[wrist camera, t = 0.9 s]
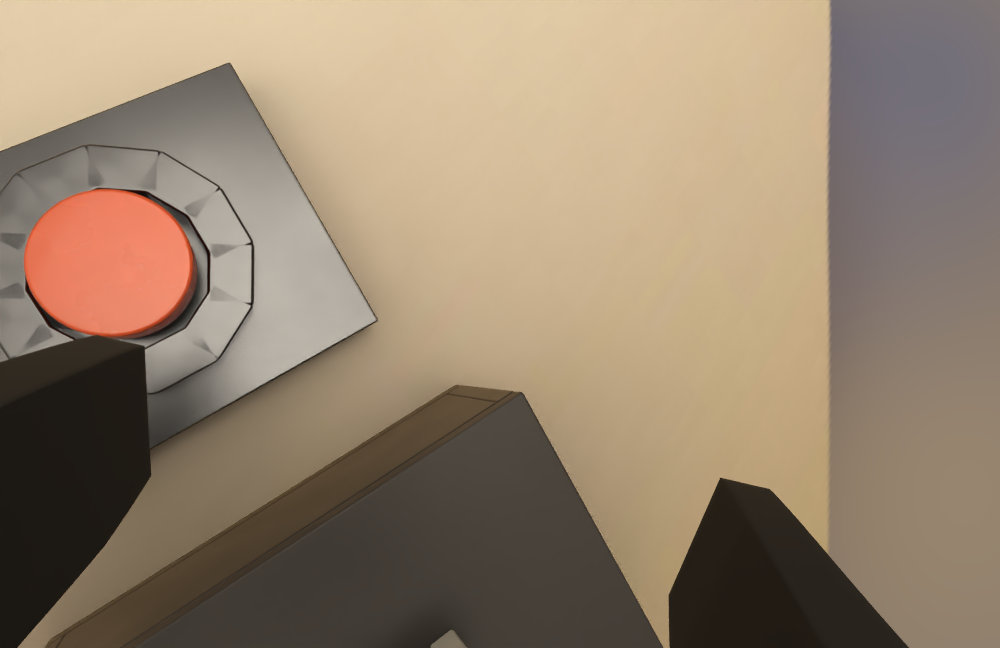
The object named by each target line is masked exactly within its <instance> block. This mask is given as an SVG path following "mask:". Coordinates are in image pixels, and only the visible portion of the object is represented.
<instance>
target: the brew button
mask: <svg viewBox="0 0 1000 648" xmlns="http://www.w3.org/2000/svg"><path fill="white" fill-rule="evenodd" d="M24 271H25V275H26V280H27V283H28V285H29V288H30V290H31V292H32V294H33V296H34V298H35V299H36V300H37V302H38V303H39V304H40V306H41V307H42V308H43V309H44V310H45V311H46V312H47V313H48V314H49V315H50V316H51V317H53V318H54V319H55V320H57V321H58V322H60V323H61V324H63V325H65V326H66V327H69V328H71V329H73V330H75V331H78V332H81V333H85V334H88V335H93V336H94V335H99V336H104V337H108V338H112V339H132V338H138V337H143V336H146V335H150V334H152V333H155V332H157V331H159V330H161V329H163V328H165V327H166V326H168V325H169V324H171V323H172V322H173V321H174V320H176V319H177V318H178V317H179V316H180V315H181V314H182V312H183V311H184V310H185V309H186V307H187V306H188V304H189V302H190V301H191V299H192V296H193V294H194V291H195V288H196V283H197V275H198V271H197V262H196V257H195V254H194V251H193V248H192V246H191V244H190V242H189V240H188V238H187V236H186V234H185V232H184V230H183V228H182V227H181V226H180V224H179V223H178V221H177V220H176V219H175V218H174V217H173V216H172V215H171V214H170V213H169V212H168V211H167V210H166V209H164V208H163V207H162V206H160V205H159V204H157V203H156V202H154V201H152V200H150V199H148V198H146V197H144V196H141V195H139V194H136V193H132V192H128V191H124V190H116V189H97V190H90V191H85V192H81V193H78V194H75V195H72V196H70V197H68V198H66V199H64V200H62V201H60V202H58V203H57V204H55V205H54V206H52V207H51V208H50V209H49V210H48V211H47V212H45V213H44V214H43V215H42V217H41V218H40V219H39V220H38V221H37V223H36V224H35V226H34V227H33V229H32V231H31V233H30V235H29V237H28V240H27V243H26V247H25V253H24Z"/></svg>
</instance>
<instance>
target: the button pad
mask: <svg viewBox="0 0 1000 648" xmlns="http://www.w3.org/2000/svg"><path fill="white" fill-rule="evenodd" d="M97 189H116V190H124V191H128V192H132V193H136V194H139V195H141V196H144V197H146V198H148V199H150V200H152V201H154V202H156V203H157V204H159V205H160V206H162V207H163V208H164V209H166V210H167V211H168V212H169V213H170V214H171V215H172V216H173V217H174V218H175V219H176V220H177V221H178V223H179V224H180V226H181V227H182V228H183V230H184V232H185V234H186V236H187V238H188V240H189V242H190V244H191V246H192V248H193V251H194V254H195V257H196V262H197V271H198V275H197V283H196V288H195V291H194V294H193V296H192V299H191V301H190V302H189V304H188V306H187V307H186V309H185V310H184V311H183V312H182V314H181V315H180V316H179V317H178V318H177V319H176V320H174V321H173V322H172V323H171V324H169V325H168V326H166V327H165V328H163V329H161V330H159V331H157V332H155V333H152V334H150V335H146V336H143V337H138V338H132V339H117V340H121V341H126V342H130V343H134V344H139V345H143V346H145V363H146V383H147V403H148V423H149V442H150V449H152V448H154V447H156V446H158V445H159V444H161V443H163V442H165V441H166V440H168V439H170V438H172V437H173V436H175V435H177V434H179V433H181V432H182V431H184V430H186V429H188V428H189V427H191V426H193V425H195V424H196V423H198V422H200V421H202V420H204V419H205V418H207V417H209V416H211V415H212V414H214V413H216V412H218V411H219V410H221V409H223V408H225V407H227V406H228V405H230V404H232V403H234V402H235V401H237V400H239V399H241V398H242V397H244V396H246V395H248V394H250V393H251V392H253V391H255V390H257V389H258V388H260V387H262V386H264V385H265V384H267V383H269V382H271V381H273V380H274V379H276V378H278V377H280V376H281V375H283V374H285V373H287V372H288V371H290V370H292V369H294V368H296V367H297V366H299V365H301V364H303V363H304V362H306V361H308V360H310V359H311V358H313V357H315V356H317V355H319V354H320V353H322V352H324V351H326V350H327V349H329V348H331V347H333V346H334V345H336V344H338V343H340V342H342V341H343V340H345V339H347V338H349V337H350V336H352V335H354V334H356V333H357V332H359V331H361V330H363V329H365V328H366V327H368V326H370V325H372V324H373V323H375V322H377V321H378V319H377V317H376V316H375V314H374V312H373V310H372V309H371V307H370V305H369V303H368V302H367V300H366V298H365V297H364V295H363V293H362V291H361V290H360V288H359V286H358V284H357V283H356V281H355V279H354V277H353V276H352V274H351V272H350V270H349V269H348V267H347V265H346V263H345V262H344V260H343V258H342V256H341V255H340V253H339V251H338V249H337V248H336V246H335V244H334V243H333V241H332V239H331V237H330V236H329V234H328V232H327V230H326V229H325V227H324V225H323V223H322V222H321V220H320V218H319V216H318V215H317V213H316V211H315V209H314V208H313V206H312V204H311V202H310V201H309V199H308V197H307V195H306V194H305V192H304V190H303V189H302V187H301V185H300V183H299V182H298V180H297V178H296V176H295V175H294V173H293V171H292V169H291V168H290V166H289V164H288V162H287V161H286V159H285V157H284V155H283V154H282V152H281V150H280V148H279V147H278V145H277V143H276V141H275V140H274V138H273V136H272V135H271V133H270V131H269V129H268V128H267V126H266V124H265V122H264V121H263V119H262V117H261V115H260V114H259V112H258V110H257V108H256V107H255V105H254V103H253V101H252V100H251V98H250V96H249V94H248V93H247V91H246V89H245V87H244V86H243V84H242V82H241V80H240V79H239V77H238V75H237V74H236V72H235V70H234V68H233V67H232V65H231V63H227V64H224V65H221V66H219V67H216V68H214V69H211V70H208V71H206V72H203V73H201V74H198V75H196V76H193V77H190V78H188V79H185V80H183V81H180V82H178V83H175V84H172V85H170V86H167V87H165V88H162V89H160V90H157V91H154V92H152V93H149V94H147V95H144V96H142V97H139V98H136V99H134V100H131V101H129V102H126V103H124V104H121V105H118V106H116V107H113V108H111V109H108V110H106V111H103V112H100V113H98V114H95V115H93V116H90V117H87V118H85V119H82V120H80V121H77V122H75V123H72V124H69V125H67V126H64V127H62V128H59V129H57V130H54V131H51V132H49V133H46V134H44V135H41V136H39V137H36V138H33V139H31V140H28V141H26V142H23V143H21V144H18V145H15V146H13V147H10V148H8V149H5V150H3V151H0V362H2V361H6V360H9V359H12V358H15V357H18V356H22V355H25V354H28V353H31V352H35V351H38V350H41V349H45V348H48V347H51V346H55V345H58V344H62V343H66V342H69V341H73V340H77V339H81V338H86V337H90V336H93V335H88V334H85V333H81V332H78V331H75V330H73V329H71V328H69V327H66V326H65V325H63V324H61V323H60V322H58V321H57V320H55V319H54V318H53V317H51V316H50V315H49V314H48V313H47V312H46V311H45V310H44V309H43V308H42V307H41V306H40V304H39V303H38V302H37V300H36V299H35V298H34V296H33V294H32V292H31V290H30V288H29V285H28V283H27V280H26V275H25V271H24V253H25V247H26V243H27V240H28V237H29V235H30V233H31V231H32V229H33V227H34V226H35V224H36V223H37V221H38V220H39V219H40V218H41V217H42V215H43V214H44V213H45V212H47V211H48V210H49V209H50V208H51V207H52V206H54V205H55V204H57V203H58V202H60V201H62V200H64V199H66V198H68V197H70V196H72V195H75V194H78V193H81V192H85V191H90V190H97Z"/></svg>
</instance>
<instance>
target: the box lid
mask: <svg viewBox="0 0 1000 648" xmlns="http://www.w3.org/2000/svg"><path fill="white" fill-rule="evenodd" d="M123 648H663V646H662V644H661V643H660V641H659V639H658V637H657V635H656V634H655V632H654V630H653V628H652V626H651V624H650V623H649V621H648V619H647V617H646V615H645V614H644V612H643V610H642V608H641V606H640V604H639V603H638V601H637V599H636V597H635V595H634V594H633V592H632V590H631V588H630V586H629V585H628V583H627V581H626V579H625V577H624V575H623V574H622V572H621V570H620V568H619V566H618V565H617V563H616V561H615V559H614V557H613V555H612V554H611V552H610V550H609V548H608V546H607V545H606V543H605V541H604V539H603V537H602V536H601V534H600V532H599V530H598V528H597V526H596V525H595V523H594V521H593V519H592V517H591V516H590V514H589V512H588V510H587V508H586V506H585V505H584V503H583V501H582V499H581V497H580V496H579V494H578V492H577V490H576V488H575V487H574V485H573V483H572V481H571V479H570V477H569V476H568V474H567V472H566V470H565V468H564V467H563V465H562V463H561V461H560V459H559V457H558V456H557V454H556V452H555V450H554V448H553V447H552V445H551V443H550V441H549V439H548V438H547V436H546V434H545V432H544V430H543V428H542V427H541V425H540V423H539V421H538V419H537V418H536V416H535V414H534V412H533V410H532V408H531V407H530V405H529V403H528V401H527V399H526V398H525V396H524V394H523V393H522V392H513V393H511V394H510V395H508V396H507V397H505V398H504V399H502V400H501V401H499V402H498V403H496V404H495V405H493V406H492V407H490V408H488V409H487V410H485V411H484V412H482V413H481V414H479V415H478V416H476V417H475V418H473V419H472V420H470V421H469V422H467V423H466V424H464V425H463V426H461V427H459V428H458V429H456V430H455V431H453V432H452V433H450V434H449V435H447V436H446V437H444V438H443V439H441V440H440V441H438V442H437V443H435V444H433V445H432V446H430V447H429V448H427V449H426V450H424V451H423V452H421V453H420V454H418V455H417V456H415V457H414V458H412V459H411V460H409V461H408V462H406V463H404V464H403V465H401V466H400V467H398V468H397V469H395V470H394V471H392V472H391V473H389V474H388V475H386V476H385V477H383V478H382V479H380V480H378V481H377V482H375V483H374V484H372V485H371V486H369V487H368V488H366V489H365V490H363V491H362V492H360V493H359V494H357V495H356V496H354V497H353V498H351V499H349V500H348V501H346V502H345V503H343V504H342V505H340V506H339V507H337V508H336V509H334V510H333V511H331V512H330V513H328V514H327V515H325V516H323V517H322V518H320V519H319V520H317V521H316V522H314V523H313V524H311V525H310V526H308V527H307V528H305V529H304V530H302V531H301V532H299V533H297V534H296V535H294V536H293V537H291V538H290V539H288V540H287V541H285V542H284V543H282V544H281V545H279V546H278V547H276V548H275V549H273V550H272V551H270V552H268V553H267V554H265V555H264V556H262V557H261V558H259V559H258V560H256V561H255V562H253V563H252V564H250V565H249V566H247V567H246V568H244V569H242V570H241V571H239V572H238V573H236V574H235V575H233V576H232V577H230V578H229V579H227V580H226V581H224V582H223V583H221V584H220V585H218V586H217V587H215V588H213V589H212V590H210V591H209V592H207V593H206V594H204V595H203V596H201V597H200V598H198V599H197V600H195V601H194V602H192V603H191V604H189V605H187V606H186V607H184V608H183V609H181V610H180V611H178V612H177V613H175V614H174V615H172V616H171V617H169V618H168V619H166V620H165V621H163V622H162V623H160V624H158V625H157V626H155V627H154V628H152V629H151V630H149V631H148V632H146V633H145V634H143V635H142V636H140V637H139V638H137V639H136V640H134V641H132V642H131V643H129V644H128V645H126V646H125V647H123Z"/></svg>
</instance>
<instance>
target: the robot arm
mask: <svg viewBox="0 0 1000 648" xmlns="http://www.w3.org/2000/svg"><path fill="white" fill-rule="evenodd" d="M150 477H151V462H150V442H149V423H148V403H147V383H146V363H145V346H143V345H139V344H134V343H130V342H126V341H121V340H117V339H112V338H108V337H104V336H99V335H94V336H90V337H86V338H81V339H77V340H73V341H69V342H66V343H62V344H58V345H55V346H51V347H48V348H45V349H41V350H38V351H35V352H31V353H28V354H25V355H22V356H18V357H15V358H12V359H9V360H6V361H2V362H0V648H17V647H18V646H19V645H20V644H21V643H22V641H23V640H24V639H25V638H26V637H27V636H28V635H29V633H30V632H31V631H32V630H33V629H34V628H35V627H36V625H37V624H38V623H39V622H40V621H41V620H42V618H43V617H44V616H45V615H46V614H47V613H48V612H49V610H50V609H51V608H52V607H53V606H54V605H55V604H56V602H57V601H58V600H59V599H60V598H61V597H62V595H63V594H64V593H65V592H66V591H67V590H68V588H69V587H70V586H71V585H72V584H73V583H74V581H75V580H76V579H77V578H78V577H79V576H80V574H81V573H82V572H83V571H84V570H85V568H86V567H87V566H88V565H89V564H90V563H91V561H92V560H93V559H94V558H95V557H96V555H97V554H98V553H99V552H100V551H101V549H102V548H103V547H104V546H105V544H106V543H107V542H108V540H109V539H110V537H111V536H112V534H113V533H114V531H115V530H116V528H117V527H118V526H119V524H120V523H121V521H122V520H123V518H124V517H125V515H126V514H127V512H128V511H129V509H130V508H131V506H132V505H133V503H134V502H135V500H136V498H137V497H138V495H139V494H140V492H141V491H142V489H143V487H144V486H145V484H146V483H147V481H148V480H149V478H150ZM669 641H670V648H909V647H907V645H906V644H905V643H904V642H903V641H902V640H901V638H900V637H899V636H898V635H897V634H896V633H895V632H894V631H893V629H892V628H891V627H890V626H889V625H888V624H887V623H886V621H885V620H884V619H883V618H882V617H881V616H880V615H879V614H878V612H877V611H876V610H875V609H874V608H873V607H872V605H871V604H870V603H869V602H868V601H867V600H866V598H865V597H864V596H863V595H862V594H861V593H860V592H859V590H858V589H857V588H856V587H855V586H854V585H853V584H852V582H851V581H850V580H849V579H848V578H847V577H846V575H845V574H844V573H843V572H842V571H841V569H840V568H839V567H838V566H837V565H836V564H835V563H834V561H833V560H832V559H831V558H830V557H829V555H828V554H827V553H826V552H825V551H824V549H823V548H822V547H821V546H820V545H819V544H818V542H817V541H816V540H815V539H814V538H813V537H812V535H811V534H810V533H809V532H808V531H807V530H806V528H805V527H804V526H803V525H802V524H801V523H800V522H799V520H798V519H797V518H796V517H795V516H794V515H793V514H792V512H791V511H790V510H789V509H788V508H787V507H786V506H785V505H784V504H783V502H782V501H781V500H780V499H779V498H778V497H777V496H776V495H775V494H774V493H773V492H772V491H771V490H770V489H767V488H762V487H758V486H754V485H749V484H745V483H741V482H736V481H732V480H727V479H723V478H720V480H719V482H718V484H717V487H716V489H715V491H714V493H713V496H712V498H711V500H710V502H709V505H708V507H707V509H706V512H705V514H704V516H703V518H702V521H701V523H700V525H699V527H698V530H697V532H696V534H695V537H694V539H693V541H692V543H691V546H690V548H689V550H688V553H687V555H686V557H685V559H684V562H683V564H682V566H681V568H680V571H679V573H678V575H677V578H676V580H675V582H674V584H673V587H672V589H671V591H670V593H669Z"/></svg>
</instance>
